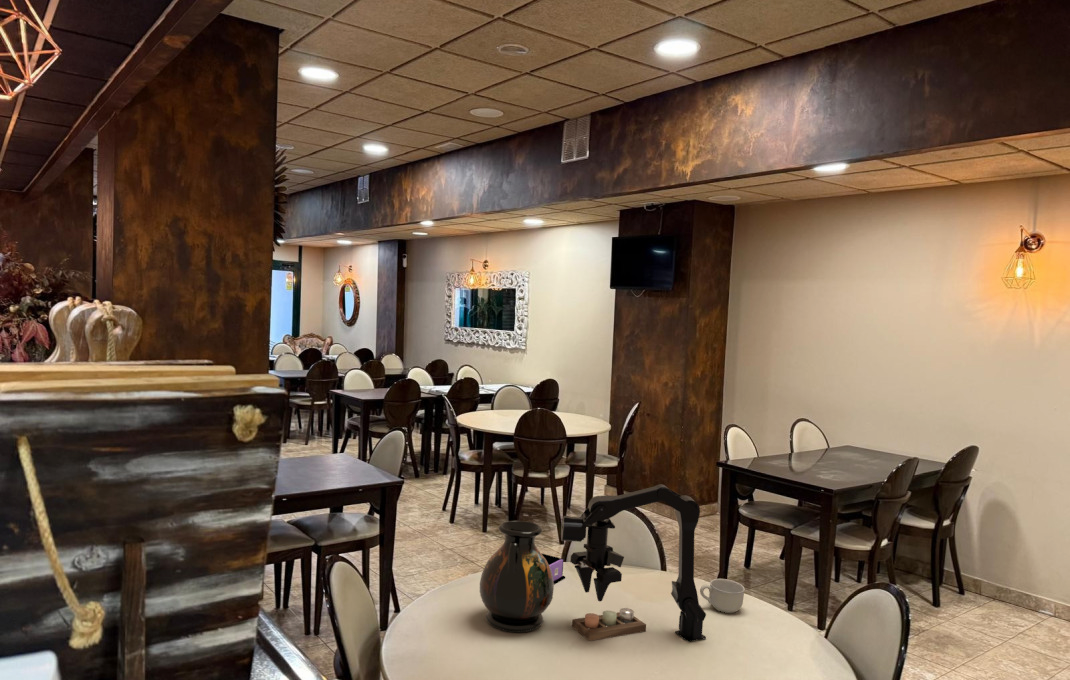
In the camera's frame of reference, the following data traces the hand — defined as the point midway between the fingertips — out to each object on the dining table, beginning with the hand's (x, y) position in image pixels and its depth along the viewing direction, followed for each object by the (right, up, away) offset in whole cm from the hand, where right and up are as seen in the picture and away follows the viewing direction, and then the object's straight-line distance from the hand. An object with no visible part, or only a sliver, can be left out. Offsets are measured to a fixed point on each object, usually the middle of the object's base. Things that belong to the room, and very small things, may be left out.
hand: (593, 596), depth 202 cm
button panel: (+5, -10, +3) cm, 12 cm away
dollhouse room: (-14, -9, +41) cm, 44 cm away
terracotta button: (-1, -9, 0) cm, 9 cm away
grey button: (+10, -9, +6) cm, 15 cm away
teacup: (+42, -13, +23) cm, 50 cm away
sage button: (+5, -9, +3) cm, 10 cm away
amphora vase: (-23, -9, +3) cm, 24 cm away
